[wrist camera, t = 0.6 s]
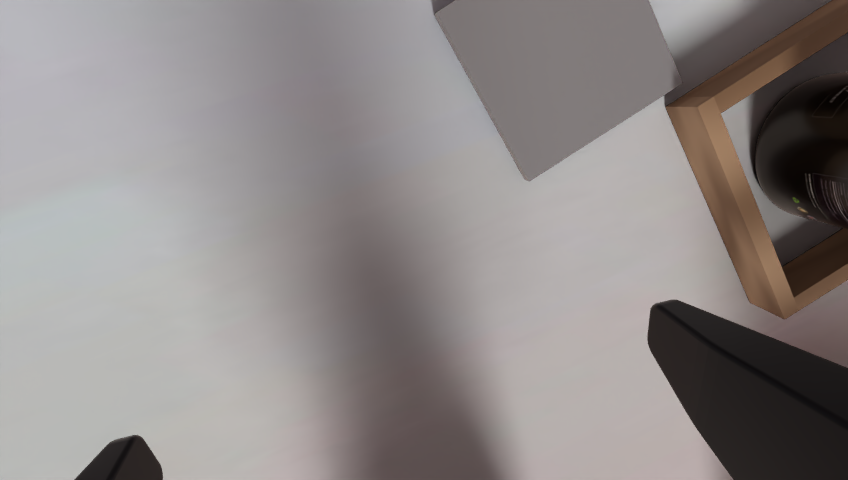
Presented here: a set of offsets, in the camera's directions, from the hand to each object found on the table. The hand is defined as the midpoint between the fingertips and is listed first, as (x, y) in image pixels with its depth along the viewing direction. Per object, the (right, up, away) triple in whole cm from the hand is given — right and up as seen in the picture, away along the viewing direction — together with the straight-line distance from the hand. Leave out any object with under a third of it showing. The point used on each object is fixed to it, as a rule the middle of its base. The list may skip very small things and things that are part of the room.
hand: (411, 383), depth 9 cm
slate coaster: (+6, +11, +13) cm, 18 cm away
